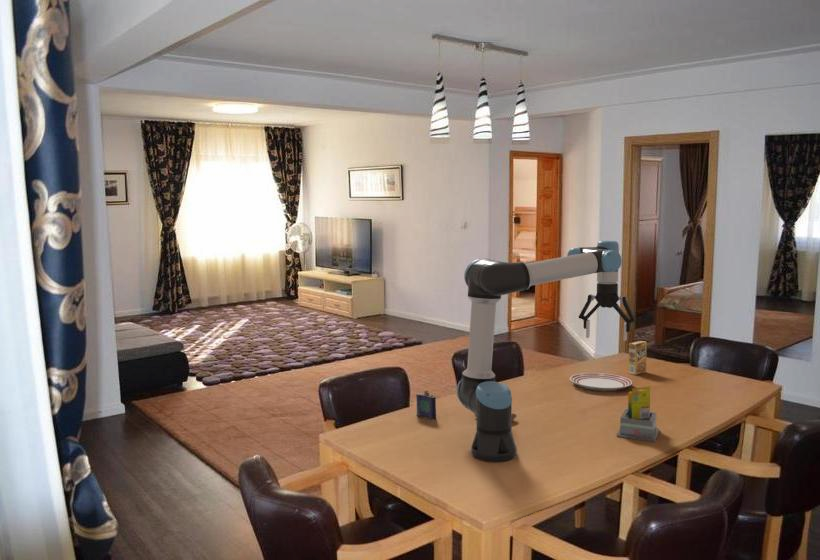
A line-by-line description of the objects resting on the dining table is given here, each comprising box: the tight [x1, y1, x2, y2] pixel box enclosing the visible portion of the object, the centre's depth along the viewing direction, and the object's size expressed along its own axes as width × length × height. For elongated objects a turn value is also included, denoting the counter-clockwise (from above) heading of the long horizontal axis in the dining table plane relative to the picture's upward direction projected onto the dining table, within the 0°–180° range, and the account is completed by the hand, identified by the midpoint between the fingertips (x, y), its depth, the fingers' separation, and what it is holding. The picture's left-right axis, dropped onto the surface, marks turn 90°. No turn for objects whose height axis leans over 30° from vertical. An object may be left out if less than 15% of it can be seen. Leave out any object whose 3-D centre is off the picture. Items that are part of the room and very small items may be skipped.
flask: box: [415, 390, 437, 420], centre depth 256 cm, size 9×3×11 cm, turn 50°
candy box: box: [628, 340, 648, 375], centre depth 316 cm, size 9×4×15 cm, turn 126°
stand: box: [616, 408, 660, 443], centre depth 234 cm, size 13×13×7 cm
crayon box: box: [627, 386, 651, 419], centre depth 233 cm, size 7×3×12 cm, turn 102°
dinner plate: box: [569, 372, 633, 392], centre depth 296 cm, size 27×27×3 cm
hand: (606, 338), depth 242 cm, fingers open, 13 cm apart
